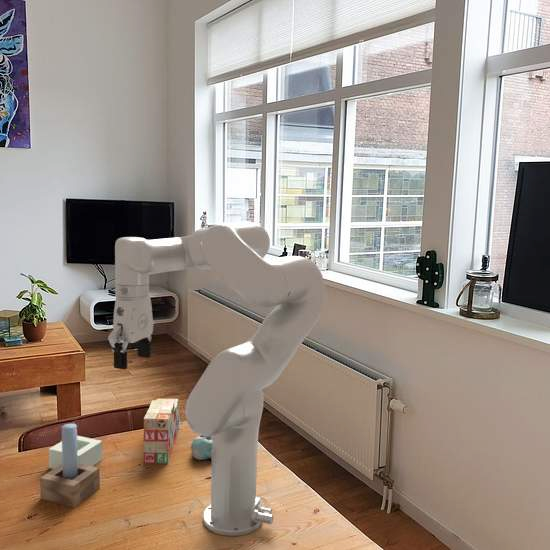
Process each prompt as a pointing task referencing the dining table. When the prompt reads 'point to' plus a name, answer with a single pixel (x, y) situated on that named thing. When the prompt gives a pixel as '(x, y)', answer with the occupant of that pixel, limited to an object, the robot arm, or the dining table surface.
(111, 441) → the dining table surface
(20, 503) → the dining table surface
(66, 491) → the brown wooden square ring
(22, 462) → the dining table surface
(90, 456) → the white square hollow block
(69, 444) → the light blue rod
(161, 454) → the stack of blocks
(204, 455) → the teal cartoon creature figurine
